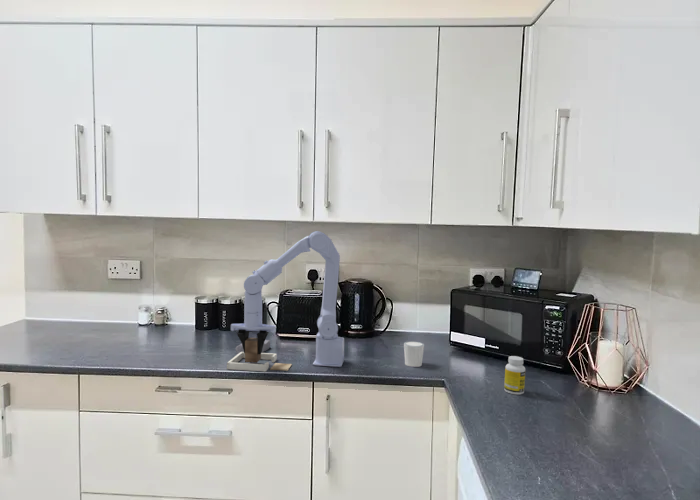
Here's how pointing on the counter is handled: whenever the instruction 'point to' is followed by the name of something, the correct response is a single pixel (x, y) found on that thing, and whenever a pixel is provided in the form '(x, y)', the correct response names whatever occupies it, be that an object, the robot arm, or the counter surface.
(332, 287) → the robot arm
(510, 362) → the supplement bottle
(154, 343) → the counter surface
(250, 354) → the walnut block
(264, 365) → the white open square frame
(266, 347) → the stone block
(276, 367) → the cork trivet
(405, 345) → the shot glass
